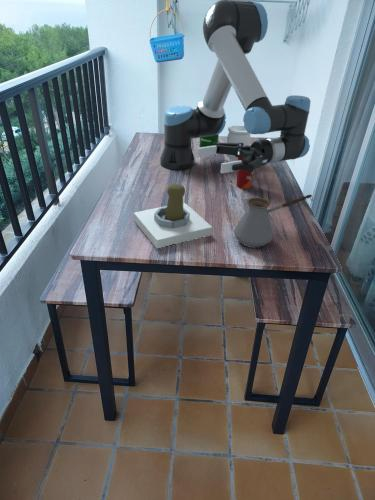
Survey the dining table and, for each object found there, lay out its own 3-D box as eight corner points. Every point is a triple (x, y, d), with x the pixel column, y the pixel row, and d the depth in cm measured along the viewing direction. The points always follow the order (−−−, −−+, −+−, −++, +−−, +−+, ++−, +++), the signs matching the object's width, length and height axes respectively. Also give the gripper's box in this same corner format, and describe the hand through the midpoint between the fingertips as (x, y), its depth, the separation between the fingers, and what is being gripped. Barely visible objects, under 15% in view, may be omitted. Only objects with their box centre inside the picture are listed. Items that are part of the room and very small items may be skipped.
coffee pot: (237, 252, 102) (244, 204, 94) (229, 231, 112) (234, 186, 103) (309, 250, 104) (322, 203, 96) (295, 230, 114) (306, 186, 106)
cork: (187, 222, 109) (190, 188, 103) (168, 225, 106) (170, 190, 100) (179, 213, 113) (181, 180, 107) (161, 215, 111) (162, 182, 105)
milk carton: (197, 148, 178) (199, 105, 167) (203, 143, 185) (205, 102, 174) (214, 151, 176) (217, 108, 165) (219, 145, 183) (223, 104, 172)
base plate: (134, 220, 115) (133, 206, 112) (184, 210, 122) (184, 196, 120) (157, 249, 102) (156, 234, 99) (211, 235, 109) (212, 221, 107)
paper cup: (252, 191, 138) (257, 155, 130) (232, 188, 139) (236, 153, 131) (253, 183, 144) (258, 148, 136) (234, 181, 145) (238, 146, 138)
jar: (247, 166, 159) (251, 132, 151) (224, 164, 161) (227, 130, 152) (247, 158, 168) (252, 126, 160) (225, 156, 169) (228, 124, 161)
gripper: (290, 177, 107) (231, 188, 99) (242, 150, 125) (188, 158, 117) (295, 152, 103) (234, 162, 94) (245, 128, 121) (189, 135, 112)
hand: (209, 160), depth 106 cm, fingers open, 13 cm apart
